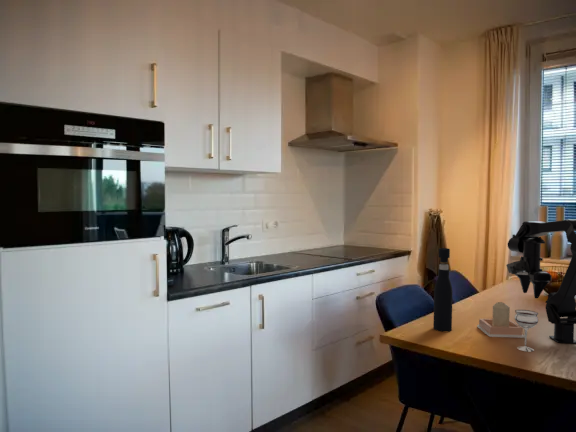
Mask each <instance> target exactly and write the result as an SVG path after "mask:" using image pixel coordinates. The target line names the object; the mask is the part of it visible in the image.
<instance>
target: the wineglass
mask: <svg viewBox="0 0 576 432" xmlns="http://www.w3.org/2000/svg"><path fill="white" fill-rule="evenodd" d="M514 312H515V314H514V321H515V323H516V324H517V325H519V326H520V327H522V328H523V330H524V335H525V338H524V345H521V346H517V347H516V349H518V350H519V351H523V352H534V351H535V349H534V348H532V347H529V346H527V339H528V338H527V337H528V331H529V330H530V329H533V328H534V327H535V326H537V325H538V323H539V317H538V315H539V313H538V312H537V311H534V310H529V309H515V310H514Z"/></svg>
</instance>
